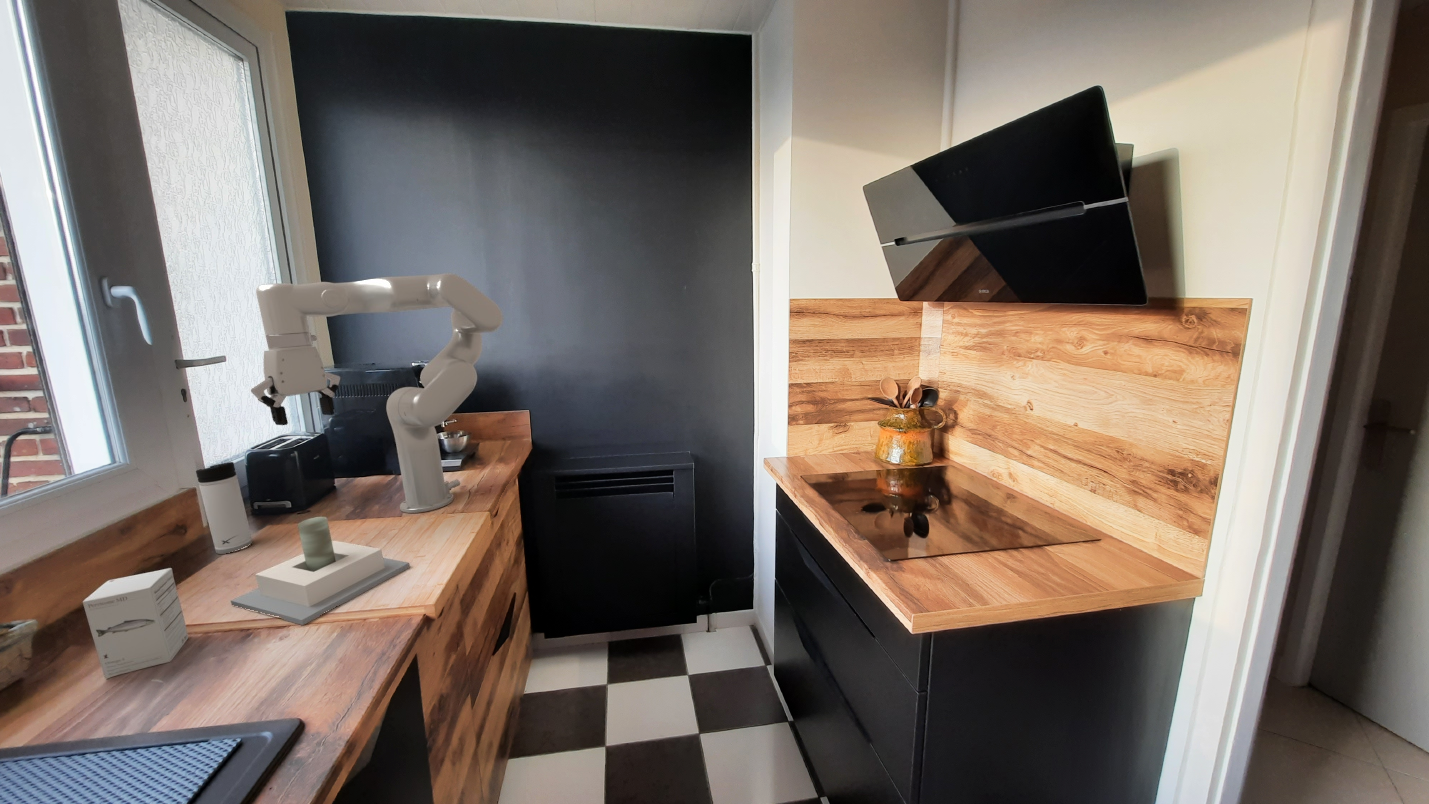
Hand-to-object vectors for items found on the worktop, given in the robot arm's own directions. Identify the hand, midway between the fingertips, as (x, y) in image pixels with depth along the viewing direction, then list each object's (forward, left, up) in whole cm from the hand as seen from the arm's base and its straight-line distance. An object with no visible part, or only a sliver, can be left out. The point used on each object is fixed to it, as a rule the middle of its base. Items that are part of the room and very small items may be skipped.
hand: (306, 419), depth 116 cm
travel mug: (+10, -17, -28) cm, 35 cm away
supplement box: (+38, +17, -28) cm, 50 cm away
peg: (+15, +22, -27) cm, 38 cm away
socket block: (+15, +22, -28) cm, 39 cm away
